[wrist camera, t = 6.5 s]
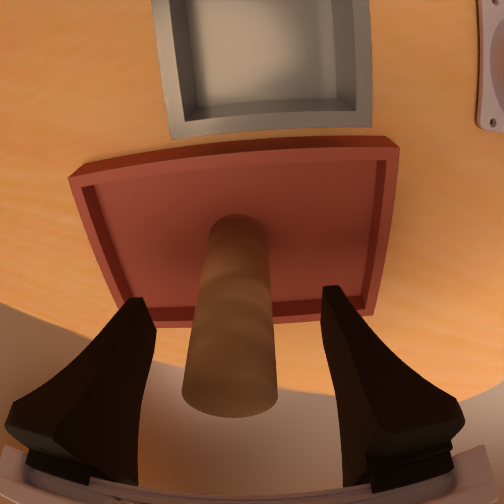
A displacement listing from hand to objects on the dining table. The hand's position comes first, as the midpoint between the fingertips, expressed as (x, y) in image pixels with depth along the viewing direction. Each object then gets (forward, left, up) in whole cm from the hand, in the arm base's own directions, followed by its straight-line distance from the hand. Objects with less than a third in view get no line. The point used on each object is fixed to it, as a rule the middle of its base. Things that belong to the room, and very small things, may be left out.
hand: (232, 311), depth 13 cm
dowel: (0, 0, -5) cm, 5 cm away
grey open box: (-2, -10, -6) cm, 12 cm away
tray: (0, 0, -6) cm, 6 cm away
